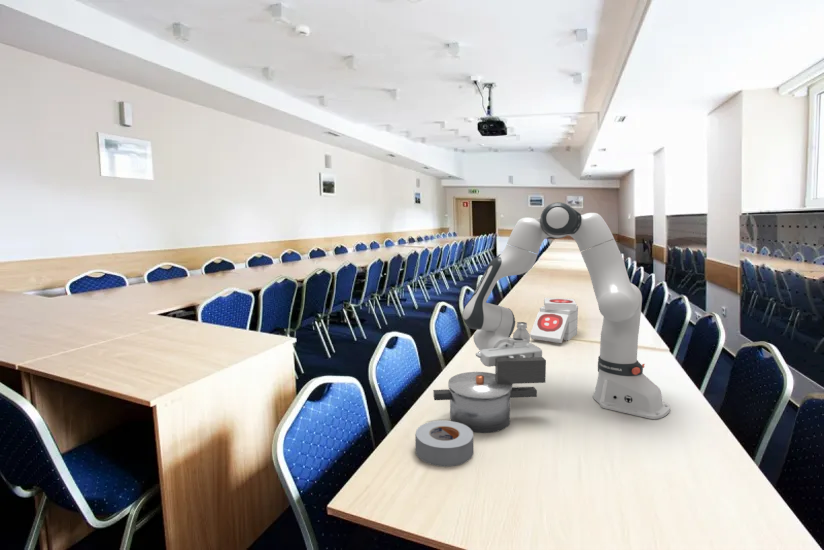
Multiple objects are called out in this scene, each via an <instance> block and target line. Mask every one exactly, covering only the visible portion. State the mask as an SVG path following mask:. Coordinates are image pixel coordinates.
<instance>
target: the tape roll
mask: <svg viewBox="0 0 824 550" xmlns="http://www.w3.org/2000/svg"><path fill="white" fill-rule="evenodd" d="M414 435H415V439H414V440H415V442H414V443H415V455H416V456H417V457H418V458H419V460H422V462H424V463H426V464H428V465H431V466H432V465H433V466H436V467H437V466H438V467H455V466H460V465H463V464H464V463H467V462H469V460H471V459H472V458H473V456H474V432H473V431H472V430H471V429H470V428H469V427H468V426H466V425H464V424H461V423H458V422H453V421H451V420H440V419H439V420H433V421H429V422H426V423H423V424H421V425H420V426H419V427H417V429H416V431H415V433H414Z"/></svg>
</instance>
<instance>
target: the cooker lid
mask: <svg viewBox="0 0 824 550" xmlns="http://www.w3.org/2000/svg"><path fill="white" fill-rule="evenodd" d="M494 368H495V369H494V371H495V372H494V373H493V372H485V371H469V372H462V373H459V374H455V375H453V376H451V377H449V380H448V389H450V390H451V391H452V392H453V393H455V394H457V395H459V396H462V397H466V398H471V399H481V400H487V399H497V398H501V397H504V396H506V395H508V394H510V393H511V391H512V387H513V384H515V385H517V384H521V385H522V384H545V383H546V374H547V372H546V369H547V360H546V359H545V358H544V357H543V356H542V357H529V358H495V366H494Z"/></svg>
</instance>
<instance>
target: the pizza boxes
mask: <svg viewBox="0 0 824 550" xmlns="http://www.w3.org/2000/svg"><path fill="white" fill-rule="evenodd" d="M578 310H579V306H578V305H577V302H576V301H575V299H574V298H564V297H563V298H559V297H558V298H557V297H556V298H555V297H544V300H543V306H541V307H539V311H538V312H537V314H536V317H535V320H534V322H533V325H532V328H531V330H530V333H529V334H530V340H531V339H533V340H537V341H538V340H539V341H544V342H545V341H546V342H552V343H557V344H558V343H559V344H563V343H562V342H563V341H567V340H569V341H570V340H571V339H573V338H574V337H575V336H576V335H578V321H579V320H578V319H579V318H578V315H579V314H578V313H579V311H578ZM573 336H574V337H573ZM572 337H573V338H572ZM563 339H564V340H563Z"/></svg>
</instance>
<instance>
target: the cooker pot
mask: <svg viewBox="0 0 824 550" xmlns="http://www.w3.org/2000/svg"><path fill="white" fill-rule="evenodd" d="M432 390H433V392H432V396H433V400H434V401H448V400H449V404H450V405H449V409H450V410H449V420H450V419H451V420H450V421H453V422H458V423H461V424H464V425H466V426H468V427H469V428H470V429H471V430H472V431H473V433H475V434H476V433H478V434H489V433H496V432H500V431H502V430H505V429H506V428H508V426H510V422H511V399H513V398H514V399H515V398H516V399H517V398H537V397H538V390H537V389H536V388H535V387H534V386H515V387H513V386H512V391H511V393H510V394H508V395H506V396H504V397H501V398H497V399H487V400H481V399H471V398H466V397H462V396H459V395H457V394H455V393H453V392H452V391H451V390H450V389H449V388H448V389H432Z"/></svg>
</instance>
